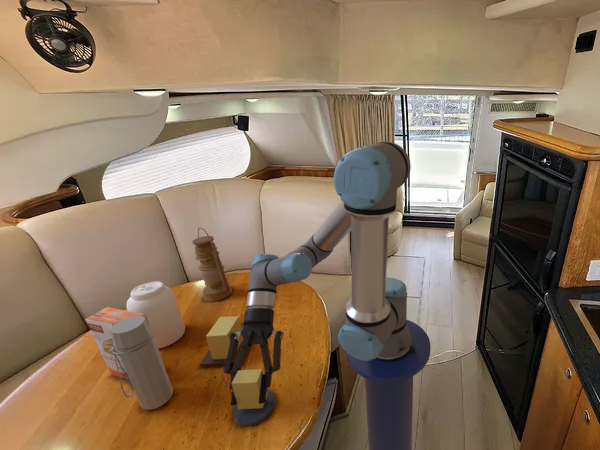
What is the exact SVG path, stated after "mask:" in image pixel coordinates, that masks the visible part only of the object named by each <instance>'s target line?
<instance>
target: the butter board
mask: <svg viewBox="0 0 600 450" xmlns="http://www.w3.org/2000/svg"><path fill="white" fill-rule="evenodd" d="M243 322H244V321H242V322H241V321H240V323H241V327H242V328H243ZM243 342H244V339H243V341H242V343H241V344H240V346H239V348H238V350H237V353H236V358H235V362H236V360H237V358H238V355H239V353H240V351H241V349H242V344H243ZM235 362H234V364H235ZM225 363H226V359H215V360H212V356H211V353H210V349H209V350H208V351H207V352H206V354H205V356H204V357H203V359H202V360H201V362H200V363H199V366H200V368H208V367H225Z"/></svg>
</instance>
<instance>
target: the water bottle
mask: <svg viewBox="0 0 600 450" xmlns="http://www.w3.org/2000/svg"><path fill="white" fill-rule="evenodd" d="M110 332H111V336H112V340H113V343H114V346H113V347H112V348H110V351H111V352H112V353H113V355H114V356H116V355H117V354H119V356H120V358H121V361H122V363H123V365H124V368H125V370H126V372H127V375H128V377H129V379H130V380H128V378H127V376H126V374H125V372H124V370H123V368H122V366H121V364H120V362H119V360H118V358H117V356H116V357H115V361H116V358H117V360H118V363H119V365H120V367H121V369H122V371H123V373H124V375H125V377H126V379H125V380H126V382H127V384H128V386H129V388H130V390H131V393H129V394H128V393H127V392H126V391H125V390H124V387H123V383H122V378H120V374H119V370H118V365H117V361H116V365H117V370H118V374H119V377H118V379H119V383H120V387H121V392H122V393H123V395H124V397H126V398H127V399H128V398H131V397H133V394H135V396H136V398H137V400H138V403H139V405H140V407H141V408H142V409H143V410H151V411H152V410H155V409H158V408H161V407H162V406H163V405H166V403H168V402H169V400H170V399H171V398H172V396H173V393H174V388H173V386H172V384H171V379H170V378H169V375H168V373H167V368H166V366H164V365H165V363H164V360H163V358H161V357H162V355H161V352H160V349H159V350H158V347H157V344H156V342H155V339H154V336H153V333H152V330H151V329H150V327H149V325H148V324H147V322H146V320H145V318H144V317H143V316H133V317H128V318H126V319H123V320H121V321H119V322H117V323H116V324H114V325H113V326H112V328H111V329H110ZM114 347H116V349H117V351H118V353H116V351H115V349H114ZM159 352H160V353H159ZM162 360H163V361H162ZM163 363H164V364H163ZM165 368H166V369H165Z"/></svg>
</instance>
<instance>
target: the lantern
mask: <svg viewBox="0 0 600 450" xmlns="http://www.w3.org/2000/svg"><path fill="white" fill-rule="evenodd" d="M200 230H203V232H205V234H206V235H203V236H200ZM214 240H215V238H214V236H212V235H209V234H208V232H207V231H206V229H204V228H203V227H198V228H197V238H194V239H193V240H192V241H191V242H192V245H195V246H194V251H195V252H194V254H195V257H194V259H195V260H196V261H199V262H200V264H199V265H198V268H197V269H198V274H199V276H200V277H201V279H202V281H204V285H205V286H204V287H203V290H202V294H203V299H204V301H206V302H209V303H211V302H212V303H214V302H218V301H222V300H225V299H226V298H228V297H229V296H231V294H232V293H233V289H232V287H231V284H230V282H229V275H228V274H227V273H226V272H225V265H224V264H223V262H222V261H221V259H220V251H218V247H216V243H215V242H214ZM226 276H227V277H226Z"/></svg>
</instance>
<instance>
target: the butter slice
mask: <svg viewBox="0 0 600 450" xmlns="http://www.w3.org/2000/svg"><path fill="white" fill-rule="evenodd" d="M263 374H264V370H263V369H262V368H260V369H259V368H258V369H255V368H254V369H241V370H238V372H237V374H236V376H235V378H234V380H233V382H232V387H233V390H232V391H234V395H235V398H236V402H237V406H238V409H254V408H263V406H264V403H265V402H264V403H262V404H259V395H260V387H261V378H262V375H263ZM267 395H268V394H267V392H266V397H267Z"/></svg>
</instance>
